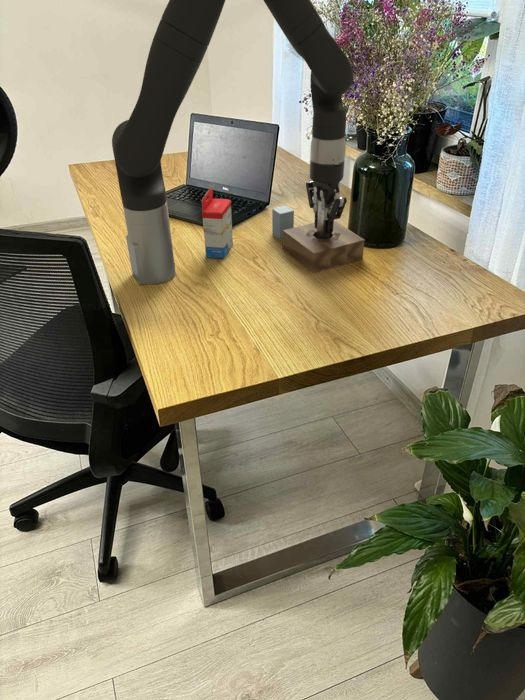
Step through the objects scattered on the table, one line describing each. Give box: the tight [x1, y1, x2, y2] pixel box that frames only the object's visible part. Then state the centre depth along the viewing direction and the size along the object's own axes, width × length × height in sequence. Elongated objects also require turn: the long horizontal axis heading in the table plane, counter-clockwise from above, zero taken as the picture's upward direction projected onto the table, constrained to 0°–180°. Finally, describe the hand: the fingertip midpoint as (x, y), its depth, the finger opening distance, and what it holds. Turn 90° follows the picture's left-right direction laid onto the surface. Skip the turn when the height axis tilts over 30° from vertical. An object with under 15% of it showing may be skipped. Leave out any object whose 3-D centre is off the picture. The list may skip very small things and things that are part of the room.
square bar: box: [271, 205, 295, 241], centre depth 139 cm, size 4×4×7 cm
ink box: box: [201, 186, 234, 259], centre depth 130 cm, size 8×5×15 cm, turn 168°
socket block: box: [282, 220, 365, 274], centre depth 131 cm, size 14×14×5 cm
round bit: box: [317, 200, 332, 239], centre depth 127 cm, size 3×3×10 cm
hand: (323, 230), depth 129 cm, fingers closed on round bit, 3 cm apart
